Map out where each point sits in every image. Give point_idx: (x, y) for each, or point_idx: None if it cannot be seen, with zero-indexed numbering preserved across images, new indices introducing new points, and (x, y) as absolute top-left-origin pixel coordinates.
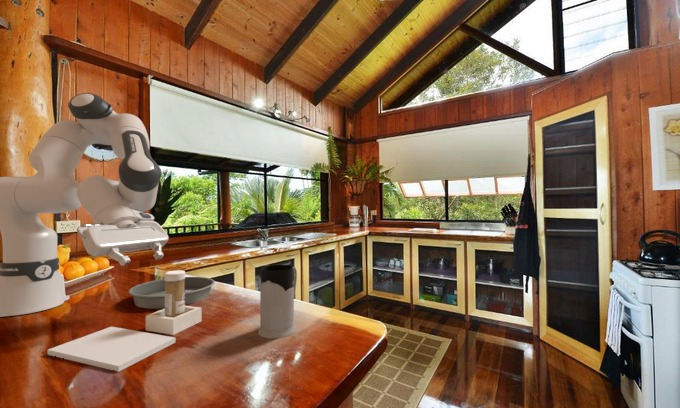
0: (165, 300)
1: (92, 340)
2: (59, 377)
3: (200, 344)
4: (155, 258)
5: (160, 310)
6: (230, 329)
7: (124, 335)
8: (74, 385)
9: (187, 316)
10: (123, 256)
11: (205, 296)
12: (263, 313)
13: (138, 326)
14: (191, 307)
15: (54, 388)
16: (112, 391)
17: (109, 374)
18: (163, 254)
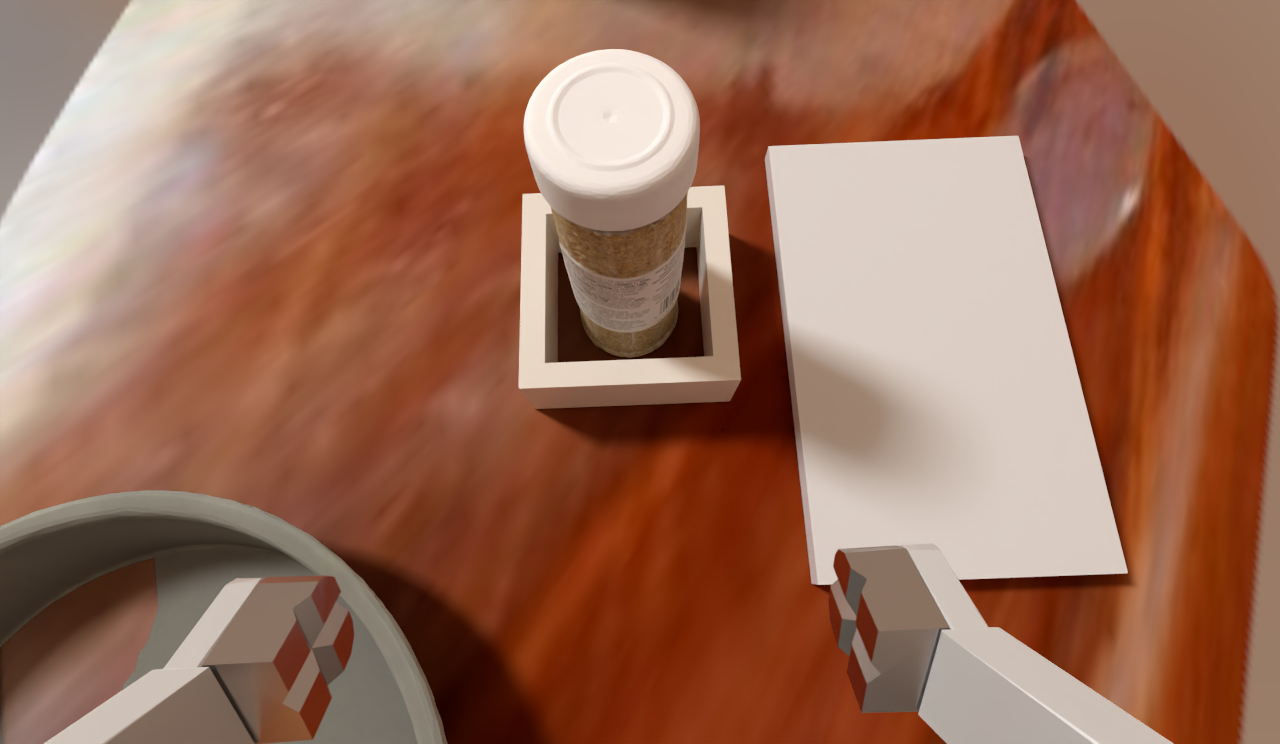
0: (681, 259)
1: (964, 475)
2: (1137, 295)
3: (736, 63)
4: (347, 655)
5: (643, 378)
6: (576, 56)
7: (855, 382)
8: (1123, 195)
9: None
10: (958, 619)
11: (136, 548)
12: None
13: (708, 494)
14: (537, 250)
15: (1167, 234)
16: (1068, 66)
17: (1030, 161)
18: (233, 581)
